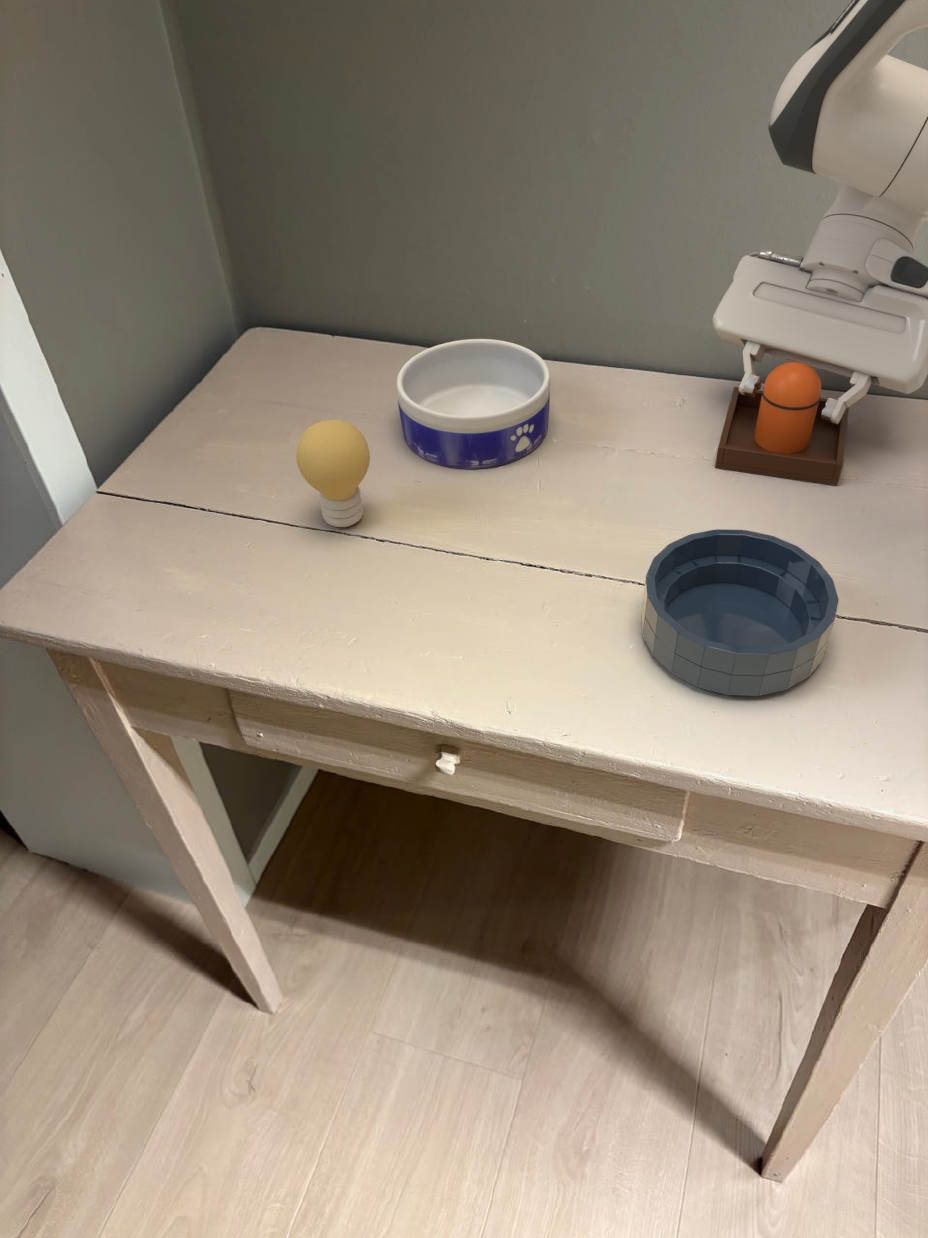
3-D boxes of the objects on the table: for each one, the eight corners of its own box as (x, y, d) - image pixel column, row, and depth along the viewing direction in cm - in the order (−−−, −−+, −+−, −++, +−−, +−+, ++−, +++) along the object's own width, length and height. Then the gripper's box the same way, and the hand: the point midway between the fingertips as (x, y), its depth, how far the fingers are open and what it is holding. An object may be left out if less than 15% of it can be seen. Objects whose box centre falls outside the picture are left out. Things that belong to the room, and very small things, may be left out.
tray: (844, 422, 96) (849, 401, 95) (837, 486, 89) (843, 464, 87) (730, 407, 99) (734, 386, 98) (714, 467, 92) (718, 446, 90)
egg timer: (821, 442, 93) (840, 368, 87) (781, 460, 91) (797, 386, 86) (781, 418, 96) (797, 345, 91) (742, 435, 94) (755, 362, 89)
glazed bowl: (862, 651, 74) (879, 604, 70) (724, 729, 69) (734, 682, 65) (736, 554, 83) (745, 508, 79) (605, 617, 78) (609, 571, 74)
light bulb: (310, 501, 91) (292, 409, 84) (377, 495, 91) (365, 403, 84) (308, 543, 86) (289, 450, 80) (379, 537, 87) (365, 443, 80)
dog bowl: (491, 488, 91) (489, 434, 87) (370, 439, 98) (363, 387, 94) (578, 415, 100) (580, 363, 95) (461, 375, 107) (458, 324, 102)
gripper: (741, 229, 91) (679, 365, 93) (962, 279, 82) (890, 430, 83) (754, 258, 97) (696, 386, 98) (963, 308, 87) (895, 449, 89)
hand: (786, 407), depth 91 cm, fingers open, 7 cm apart
